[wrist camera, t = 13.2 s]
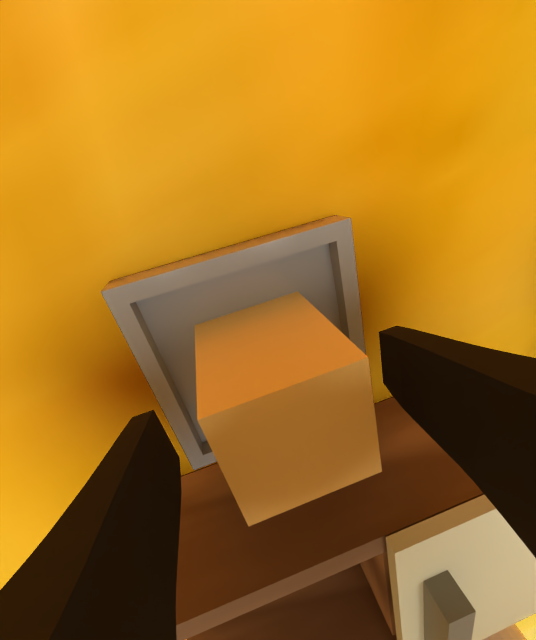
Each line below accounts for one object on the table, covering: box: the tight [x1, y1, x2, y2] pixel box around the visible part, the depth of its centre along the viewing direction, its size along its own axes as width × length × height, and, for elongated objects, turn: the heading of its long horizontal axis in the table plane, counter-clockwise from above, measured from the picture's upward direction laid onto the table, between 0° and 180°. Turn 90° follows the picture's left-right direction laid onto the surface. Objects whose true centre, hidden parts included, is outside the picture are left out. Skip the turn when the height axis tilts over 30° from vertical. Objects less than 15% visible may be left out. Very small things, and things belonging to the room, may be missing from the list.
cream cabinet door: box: [386, 495, 536, 640], centre depth 12 cm, size 11×8×2 cm
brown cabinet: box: [176, 397, 484, 640], centre depth 15 cm, size 11×20×5 cm, turn 104°
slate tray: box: [101, 215, 366, 470], centre depth 12 cm, size 8×8×1 cm
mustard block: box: [194, 291, 382, 527], centre depth 10 cm, size 4×4×5 cm
